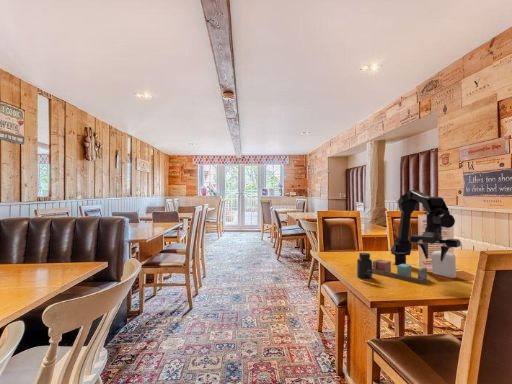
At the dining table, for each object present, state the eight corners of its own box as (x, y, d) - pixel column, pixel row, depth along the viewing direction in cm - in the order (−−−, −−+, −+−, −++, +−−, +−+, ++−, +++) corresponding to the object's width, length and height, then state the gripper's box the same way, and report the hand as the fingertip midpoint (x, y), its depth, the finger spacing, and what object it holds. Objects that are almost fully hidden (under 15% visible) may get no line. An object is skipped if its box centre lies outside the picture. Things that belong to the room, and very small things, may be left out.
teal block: (402, 274, 140) (402, 263, 140) (411, 276, 137) (411, 265, 137) (397, 277, 136) (397, 265, 136) (405, 278, 133) (405, 267, 133)
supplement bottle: (370, 281, 132) (370, 255, 132) (355, 278, 135) (355, 253, 135) (373, 277, 137) (373, 252, 138) (358, 275, 141) (358, 251, 141)
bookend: (424, 278, 133) (424, 267, 133) (429, 280, 131) (429, 268, 131) (417, 281, 128) (417, 269, 128) (423, 283, 127) (423, 271, 127)
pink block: (383, 270, 148) (383, 260, 148) (390, 272, 144) (390, 261, 145) (377, 272, 144) (377, 261, 144) (385, 274, 141) (385, 263, 141)
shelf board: (381, 270, 151) (381, 258, 151) (431, 280, 132) (431, 267, 132) (370, 273, 144) (370, 261, 144) (422, 285, 125) (422, 271, 125)
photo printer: (430, 274, 143) (430, 249, 143) (435, 273, 145) (435, 249, 145) (452, 279, 134) (452, 253, 134) (457, 278, 136) (457, 252, 136)
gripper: (404, 224, 129) (404, 259, 129) (452, 228, 114) (452, 267, 114) (414, 223, 136) (414, 255, 136) (461, 226, 121) (461, 263, 121)
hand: (434, 260), depth 126 cm, fingers open, 6 cm apart
